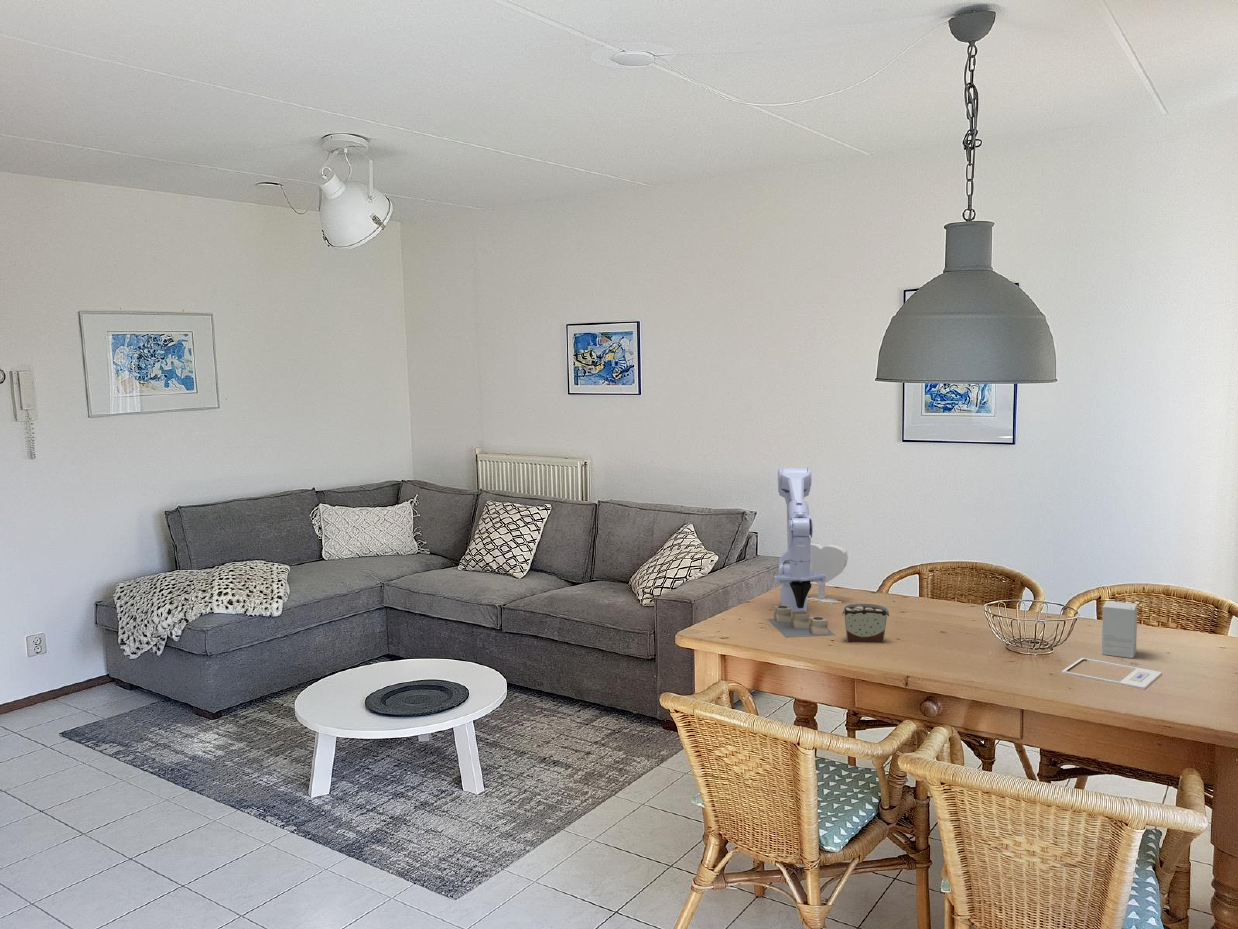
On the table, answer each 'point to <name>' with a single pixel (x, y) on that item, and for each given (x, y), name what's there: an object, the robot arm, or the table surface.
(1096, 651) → the table surface
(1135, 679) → the photo frame
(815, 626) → the dotted block
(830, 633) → the tapping mat
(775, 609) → the dotted block
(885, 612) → the food container
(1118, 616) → the supplement box
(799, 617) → the plain block
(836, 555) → the heart sculpture
